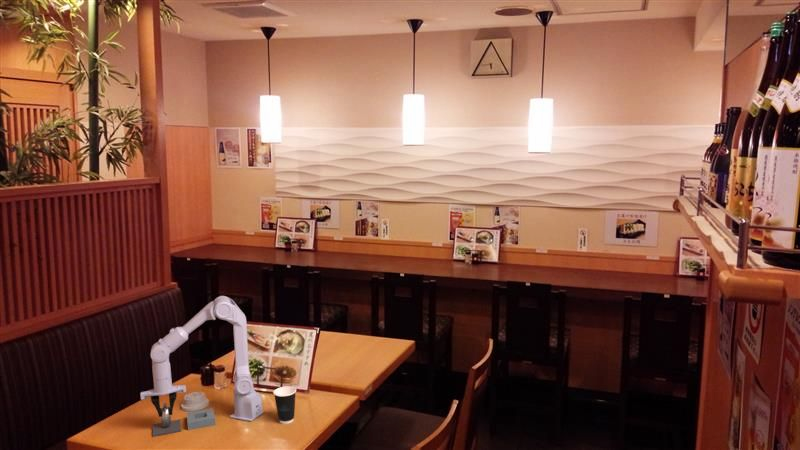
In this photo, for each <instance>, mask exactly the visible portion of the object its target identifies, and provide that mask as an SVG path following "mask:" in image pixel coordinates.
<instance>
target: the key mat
mask: <svg viewBox="0 0 800 450" xmlns="http://www.w3.org/2000/svg"><path fill="white" fill-rule="evenodd" d="M181 423H182V422H181V419H180V418H179V419H173V420H171V425H169V426H165V427H164V426H162V422H157V423H153V424H152V438H155V437H160V436H164V435H171V434H175V433H180V432H182V426H181V425H182V424H181Z"/></svg>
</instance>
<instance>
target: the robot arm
mask: <svg viewBox="0 0 800 450" xmlns="http://www.w3.org/2000/svg"><path fill="white" fill-rule="evenodd" d="M217 318H218V319H219V320H223V321H227V322H228V323H229V324H231V325H233V330H232V331H233V343H234V344H233V346H234V359H235V360H234V361H235V364H234V365H235V369H234V370H235V371H234V374H233V377H232V380H233V382H234V389H233V392H232V393H233V403H234V404H233V405H234V413H232V414H230V415H229V418H231V419H237V420H241V421H247V422H253V421H254V420H255V419H256V418H258V417H259V416H261V415H262V414H263V413H265V411H264V410H263V409H264V408H263V397H262V395H261V393H259V392H257V391H256V390H255V388H254V383H253V380H252V375H251V372H250V363H249V347H248V345H249V344H248V329H247V328H248V327H247V325H248V324H247V316H246V315H245V313H244V312H243V310H241V309H240V307H239V306H238V305H237V304H236V302H235V301H234V300H233V299H232V298H230V297H228V296H225V295H219V296H218V297H216V298H215V299H214V300H212V301H210V302H209V303H208V304H206V305H205V306H204V307H203V308H202V309H200V311H199V312H198V313H196V314H195V315H194V316H193V317H192V318H191V319H190V320H188V321H187V323H185V324H184V325H183V326H177V327H172V328H171V329H170V330H169V333H168V334H166V335H165V336H163V338H159V339H158V341H157V342H155V343H154V344H153V345H152V346H151V349H150V358H151V364H152V365H151V367H152V369H151V370H152V377H153V378H152V380H153V388H152V389H149V390H147V391H141V392H140V393H139V394H140V400H141V401H142V400H145V399H148V398H149V399H150V401H151V403H152V405H153V406H154V408H155V410H156V412H157V414H158V418H161V410H160V408H161V404H160V403H161V402H160V397H161V396H165V395H166V396H167V395H168V398H169V399H168V400H169V407H170V416H173V409H174V405H175V402H176V400H177V397H178V396H177V395H178V394H177V393H186V392H187V386H186V385H187V384H183V385H173V382H172V371H171V363H170V354H171V353H173V352H175V351H176V350H177V349H179V347H180V346H182V345H183V344H184V343H185V342H187V341H188V340H189V334H191V333H193V331H194V330H196V329H197V328H198V327H200V326H201V325H203V324H204V323H205V322H206V321H211V320H212V321H215V320H216V319H217Z"/></svg>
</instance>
